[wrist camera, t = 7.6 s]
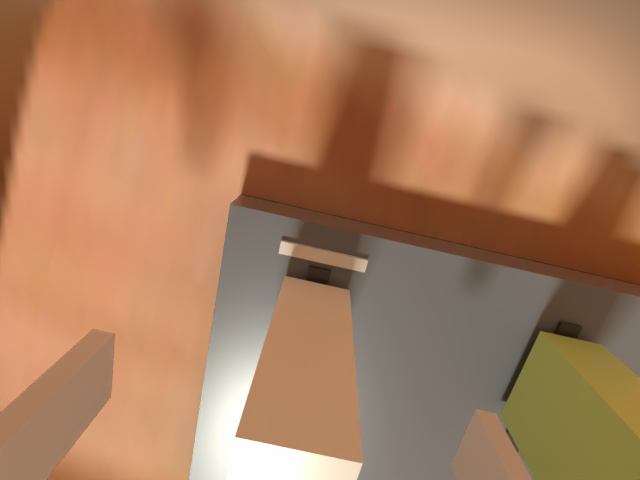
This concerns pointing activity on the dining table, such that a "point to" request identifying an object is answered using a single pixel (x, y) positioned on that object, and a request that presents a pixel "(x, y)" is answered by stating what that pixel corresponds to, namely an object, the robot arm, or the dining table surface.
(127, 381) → the dining table surface
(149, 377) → the dining table surface
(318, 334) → the fader cream
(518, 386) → the fader lime
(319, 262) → the mixing board
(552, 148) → the dining table surface
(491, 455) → the robot arm
